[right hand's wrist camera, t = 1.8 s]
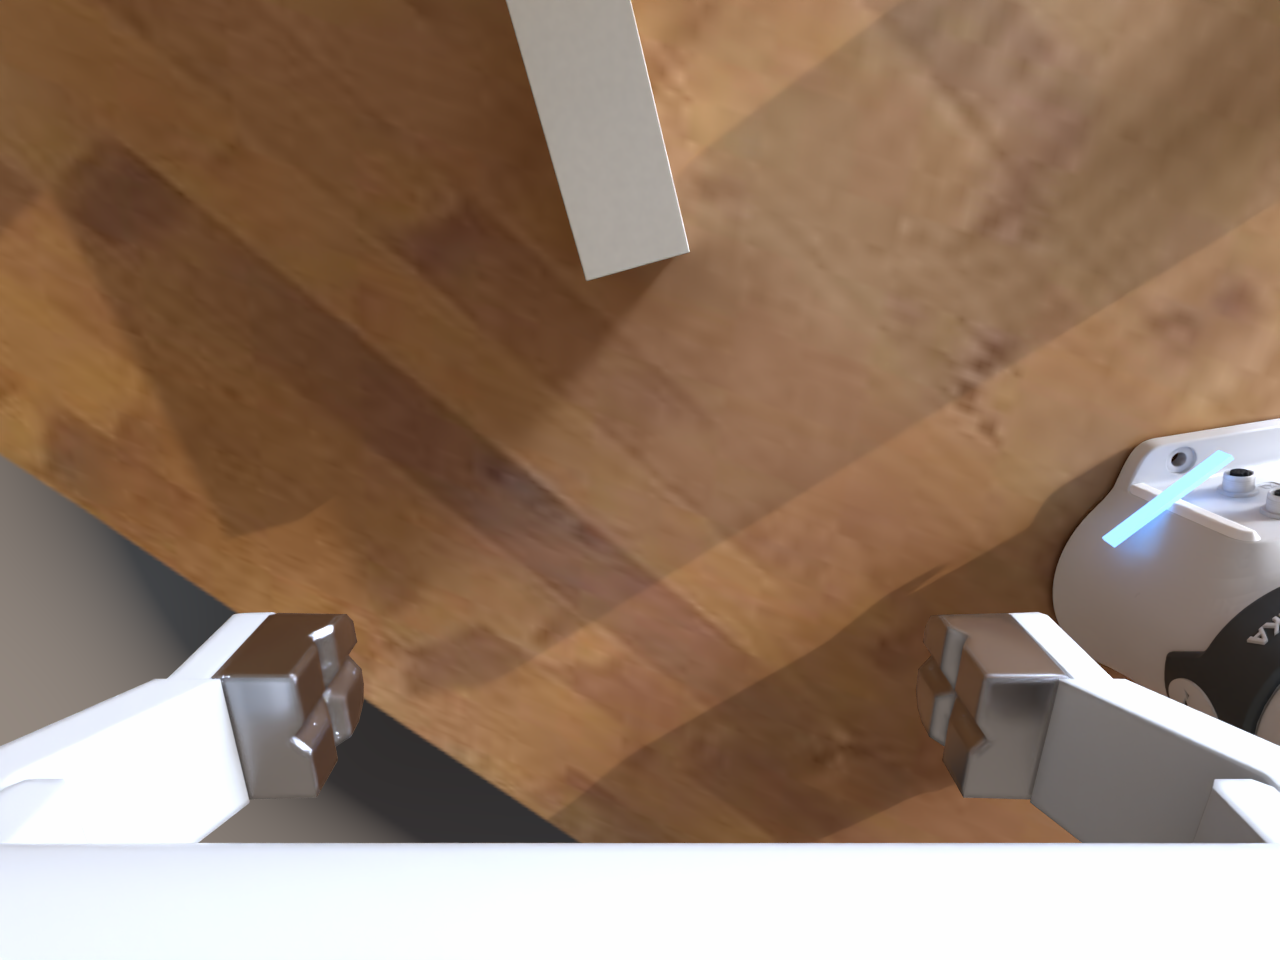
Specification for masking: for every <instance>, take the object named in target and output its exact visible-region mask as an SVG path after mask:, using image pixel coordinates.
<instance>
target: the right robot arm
mask: <svg viewBox="0 0 1280 960" xmlns="http://www.w3.org/2000/svg"><path fill="white" fill-rule="evenodd" d="M1177 453H1178V456H1177V458H1176V459H1175V460H1174V461H1172V462H1171V459H1172V457H1173V456H1174V455H1175V454H1177ZM1053 606H1054V611H1055V615H1056V618H1057V621H1058V624H1059V626H1060V627H1059V626H1058V625H1057V624H1056V623H1055V622H1054V621H1053V620H1052V619H1051V618H1050V617H1049V616H1048V615H1045V614H1042V613H1039V612H1028V613H997V614H957V615H933V616H930V618H929V620H928V622H927V624H926V626H925V632H924V638H923V643H924V644H925V646H926V647H927V649H928V651H929V652H930V654H931V656H930V657H929V659H928V660H927V661H926V662H925V663H924V664H923V665H922V666H921V667H920V668H919V669H918V677H917V685H916V695H917V705H918V711H919V714H920V718H921V721H922V724H923V726H924V727H925V729H926V731H927V733H928V735H929V737H931V738H932V739H934V740H935V741H937V742H938V743H940V744H942V745H943V746H945V747H944V753H943V759H942V760H943V762H944V764H945V766H946V767H947V769H948V771H949V773H950V775H951V776H952V778H953V780H954V782H955V783H956V785H957V787H958V789H959V790H960V792H961V794H962V796H963V797H965V798H1002V799H1031V800H1030V803H1032V804H1033V805H1034V806H1036V807H1037V808H1038V809H1039V810H1041V811H1042V812H1043V813H1045V814H1046V815H1047V816H1048V817H1050V818H1051V819H1052V820H1054V821H1055V822H1056V823H1057V824H1059V825H1060V826H1061V827H1063V828H1064V829H1065V830H1066V831H1068V832H1069V833H1070V834H1072V835H1073V836H1074V837H1075V838H1077V839H1078V840H1079V841H1081V842H1082V843H198V842H200V841H201V840H202V839H203V838H205V837H206V836H207V835H209V834H210V833H211V832H212V831H214V830H215V829H216V828H218V827H219V826H220V825H222V824H223V823H224V822H225V821H227V820H228V819H229V818H231V817H232V816H233V815H234V814H236V813H237V812H238V811H240V810H241V809H242V808H243V807H245V806H246V805H247V804H249V802H250V801H249V799H276V798H312V797H317V796H318V794H319V792H320V790H321V789H322V787H323V785H324V783H325V782H326V780H327V778H328V776H329V774H330V773H331V771H332V769H333V767H334V766H335V764H336V762H337V760H338V759H337V753H336V748H335V746H337V745H338V744H340V743H341V742H343V741H345V740H346V739H348V738H349V737H351V735H352V733H353V731H354V729H355V727H356V725H357V724H358V722H359V717H360V713H361V709H362V705H363V696H364V683H363V676H362V669H361V668H360V667H359V666H358V665H357V664H356V663H355V662H354V661H353V660H352V659H351V658H350V656H349V654H350V652H351V650H352V649H353V647H354V646H355V644H356V643H357V638H356V633H355V628H354V623H353V621H352V620H351V618H350V617H349V616H348V615H347V614H307V613H273V612H264V613H240V614H234V615H232V616H231V617H230V618H229V619H228V620H227V621H226V622H225V623H224V624H223V625H222V626H221V627H220V628H219V629H218V630H217V631H216V632H215V633H214V634H213V635H212V636H211V637H210V638H209V639H208V640H207V641H206V642H205V643H204V644H203V645H202V646H200V647H199V648H198V649H197V650H196V651H195V652H194V653H193V654H192V655H191V656H190V657H189V658H188V659H187V660H186V661H185V662H184V663H183V664H182V665H181V666H180V667H179V668H178V669H177V670H176V671H175V672H174V673H173V674H172V675H170V676H169V677H168V678H167V679H154V680H151V681H149V682H147V683H145V684H142V685H140V686H138V687H135V688H133V689H131V690H128V691H126V692H124V693H122V694H119V695H117V696H115V697H112V698H110V699H108V700H105V701H103V702H101V703H98V704H96V705H94V706H92V707H89V708H87V709H85V710H82V711H80V712H78V713H75V714H73V715H71V716H69V717H66V718H64V719H62V720H59V721H57V722H55V723H52V724H50V725H48V726H45V727H43V728H41V729H39V730H36V731H34V732H32V733H29V734H27V735H25V736H22V737H20V738H18V739H15V740H13V741H11V742H9V743H6V744H4V745H2V746H0V960H1280V418H1278V419H1272V420H1266V421H1259V422H1253V423H1247V424H1240V425H1234V426H1228V427H1222V428H1215V429H1209V430H1203V431H1197V432H1190V433H1184V434H1178V435H1172V436H1165V437H1159V438H1153V439H1149V440H1146V441H1144V442H1142V443H1140V444H1139V445H1138V446H1137V447H1136V448H1135V449H1134V450H1133V451H1132V452H1131V454H1130V455H1129V457H1128V459H1127V460H1126V462H1125V464H1124V466H1123V468H1122V470H1121V472H1120V474H1119V476H1118V479H1117V481H1116V483H1115V485H1114V487H1113V489H1112V490H1111V491H1110V492H1109V494H1108V495H1107V496H1106V497H1105V498H1104V499H1103V500H1102V501H1101V502H1100V503H1099V504H1098V505H1097V506H1096V507H1095V508H1094V509H1093V510H1092V511H1091V512H1090V513H1089V514H1088V515H1087V516H1086V517H1085V519H1084V520H1083V521H1082V522H1081V523H1080V525H1079V526H1078V527H1077V528H1076V530H1075V531H1074V533H1073V534H1072V535H1071V537H1070V539H1069V540H1068V542H1067V544H1066V546H1065V548H1064V550H1063V552H1062V554H1061V556H1060V559H1059V561H1058V564H1057V567H1056V571H1055V575H1054V581H1053ZM1094 660H1095V661H1097V662H1099V663H1101V664H1103V665H1106V666H1108V667H1110V668H1112V669H1114V670H1116V671H1117V672H1119V673H1121V674H1123V675H1125V676H1126V677H1128V678H1130V679H1131V680H1133V681H1135V682H1136V683H1138V684H1139V685H1138V684H1135V683H1133V682H1131V681H1129V680H1126V679H1113V678H1112V677H1111V676H1110V675H1109V674H1107V673H1106V672H1105V671H1104V670H1103V669H1102V668H1101V667H1100V666H1099V665H1098V664H1097V663H1096V662H1095V661H1094ZM1140 685H1141V686H1140Z"/></svg>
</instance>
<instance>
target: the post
mask: <svg viewBox="0 0 1280 960" xmlns="http://www.w3.org/2000/svg"><path fill="white" fill-rule="evenodd" d="M506 3H507V6H508V10H509V13H510V17H511V20H512V24H513V27H514V31H515V34H516V38H517V41H518V45H519V48H520V52H521V55H522V59H523V62H524V66H525V69H526V73H527V76H528V80H529V83H530V87H531V90H532V94H533V97H534V101H535V104H536V108H537V111H538V115H539V118H540V122H541V125H542V129H543V132H544V136H545V139H546V143H547V146H548V150H549V153H550V157H551V160H552V164H553V167H554V171H555V174H556V178H557V181H558V185H559V188H560V192H561V195H562V199H563V202H564V205H565V209H566V212H567V216H568V219H569V223H570V226H571V230H572V233H573V237H574V240H575V244H576V247H577V251H578V254H579V258H580V261H581V265H582V268H583V272H584V275H585V279H586V281H590V280H593V279H597V278H600V277H604V276H607V275H611V274H615V273H618V272H622V271H625V270H629V269H632V268H636V267H639V266H643V265H647V264H650V263H654V262H657V261H661V260H664V259H668V258H671V257H675V256H679V255H682V254H686V253H689V252H690V250H689V246H688V242H687V238H686V233H685V229H684V225H683V221H682V216H681V212H680V208H679V203H678V199H677V195H676V191H675V186H674V182H673V178H672V174H671V169H670V165H669V161H668V157H667V152H666V148H665V144H664V140H663V135H662V131H661V127H660V123H659V118H658V114H657V110H656V106H655V101H654V97H653V93H652V88H651V84H650V80H649V76H648V71H647V67H646V63H645V59H644V54H643V50H642V46H641V42H640V37H639V33H638V29H637V25H636V20H635V16H634V12H633V8H632V3H631V0H506Z"/></svg>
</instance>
